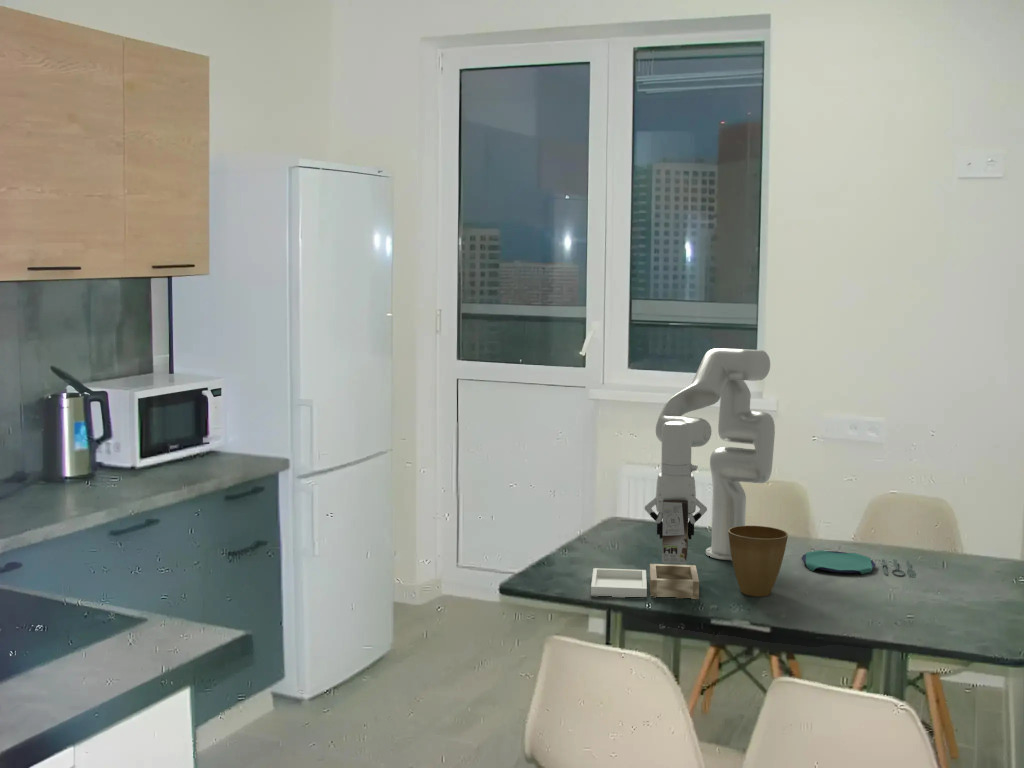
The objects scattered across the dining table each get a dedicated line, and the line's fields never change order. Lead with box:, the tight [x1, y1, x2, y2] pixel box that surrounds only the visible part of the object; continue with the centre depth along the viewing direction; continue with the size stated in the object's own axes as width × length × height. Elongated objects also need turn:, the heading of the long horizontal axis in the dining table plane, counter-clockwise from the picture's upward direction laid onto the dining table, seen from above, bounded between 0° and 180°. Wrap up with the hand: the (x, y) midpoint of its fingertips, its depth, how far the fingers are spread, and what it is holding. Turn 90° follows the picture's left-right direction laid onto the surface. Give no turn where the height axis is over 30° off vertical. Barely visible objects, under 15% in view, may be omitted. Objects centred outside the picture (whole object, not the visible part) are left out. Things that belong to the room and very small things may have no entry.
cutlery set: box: [801, 549, 916, 579], centre depth 299 cm, size 20×30×2 cm, turn 75°
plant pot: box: [728, 525, 789, 598], centre depth 274 cm, size 15×15×16 cm
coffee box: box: [661, 500, 689, 565], centre depth 276 cm, size 9×6×16 cm
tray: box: [590, 567, 648, 598], centre depth 278 cm, size 14×17×2 cm
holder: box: [649, 563, 700, 600], centre depth 277 cm, size 12×15×4 cm
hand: (675, 537), depth 276 cm, fingers closed on coffee box, 6 cm apart
